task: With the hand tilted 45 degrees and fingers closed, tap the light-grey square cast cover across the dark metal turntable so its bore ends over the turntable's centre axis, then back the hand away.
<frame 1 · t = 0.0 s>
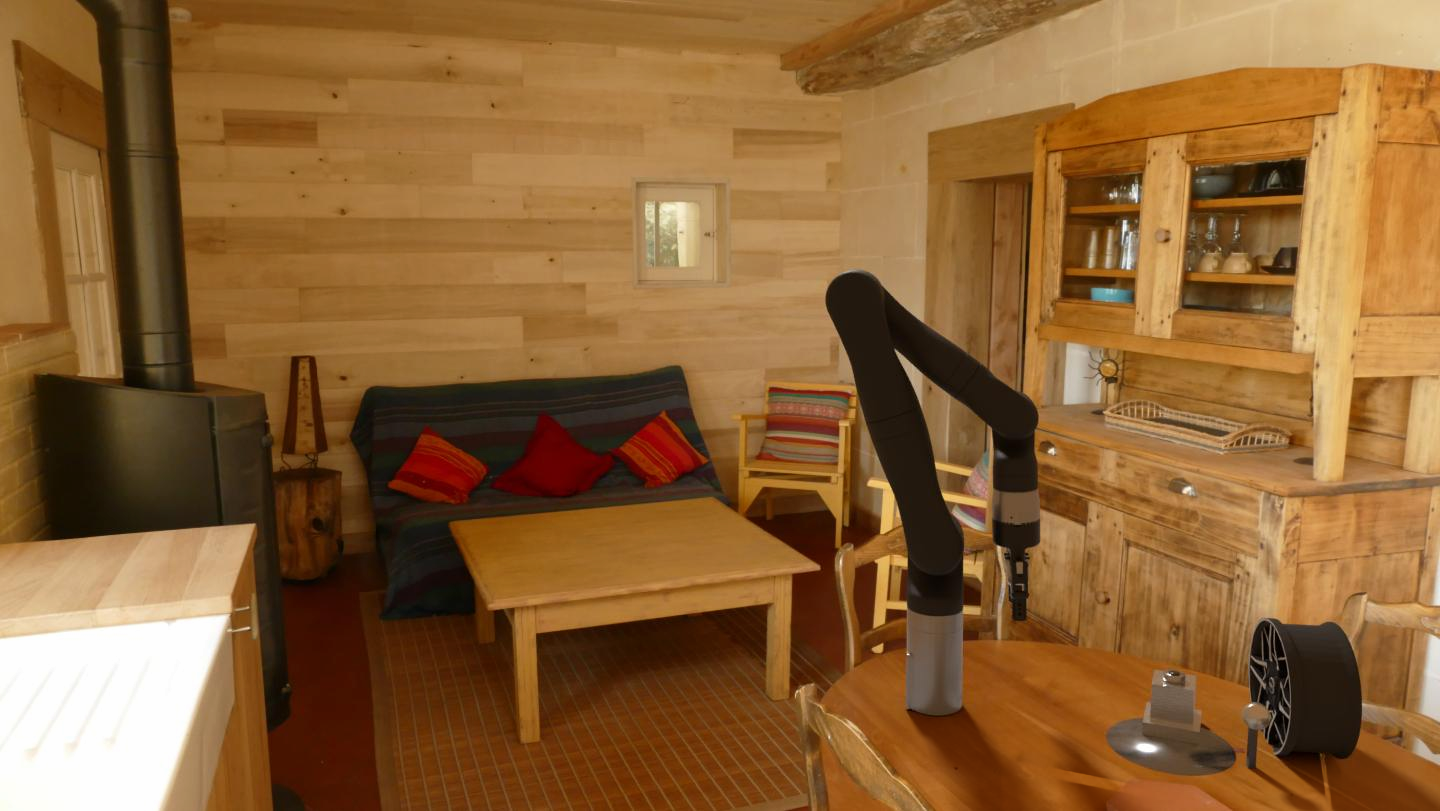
hand: (1017, 610, 167), 17 cm above the table, tool pointing down, fingers open, 8 cm apart
wheel rim: (1297, 750, 154), on the table
turntable: (1174, 746, 154), point 1 cm above the table, hinge at 0.0°, touching cover
dial indicator post: (1250, 774, 148), on the table
cover: (1171, 728, 160), point 1 cm above the table, touching turntable
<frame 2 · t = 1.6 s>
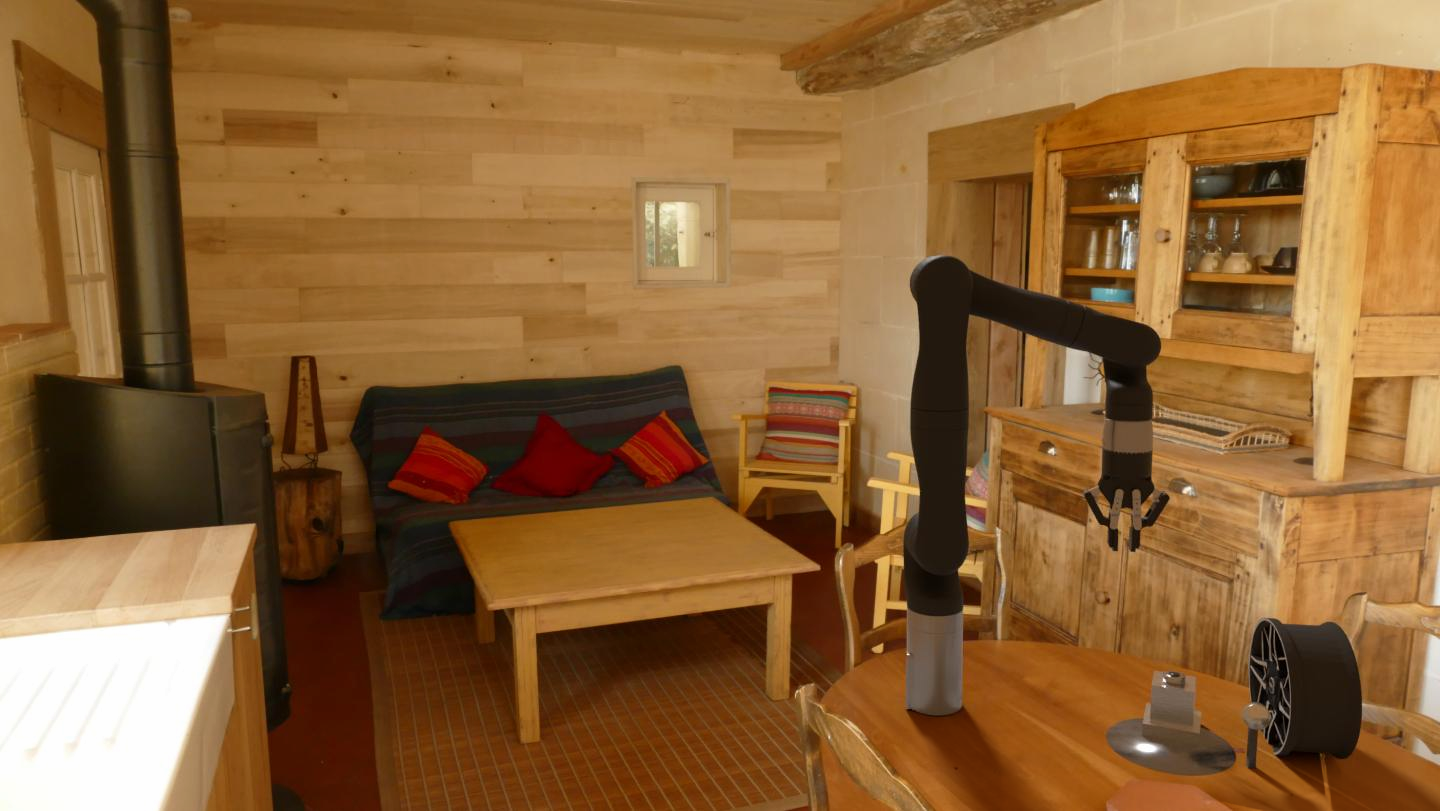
hand: (1123, 549, 166), 27 cm above the table, tool pointing down, fingers closed
nothing on the table moved.
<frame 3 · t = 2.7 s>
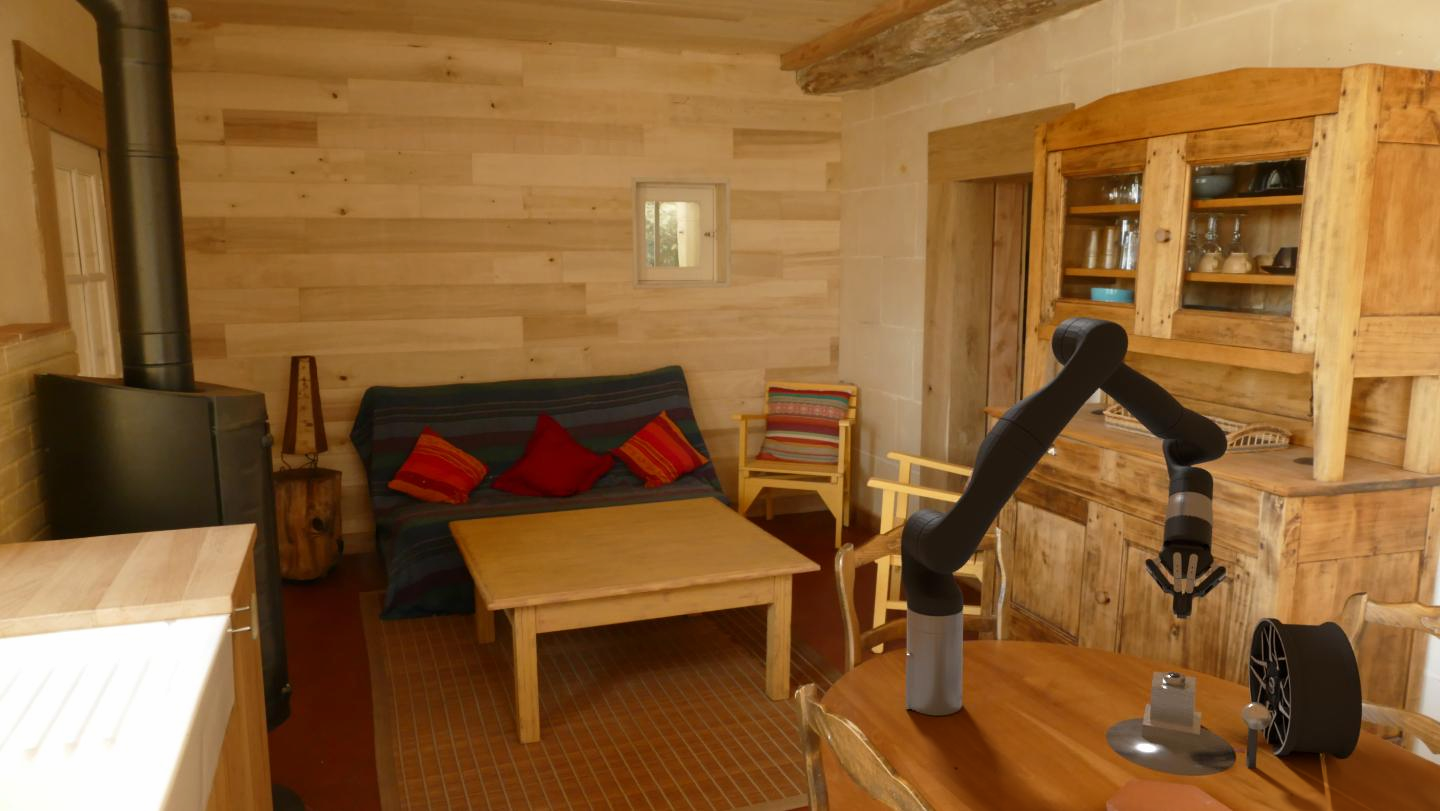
hand: (1181, 616, 167), 16 cm above the table, tool tilted 45°, fingers closed
nothing on the table moved.
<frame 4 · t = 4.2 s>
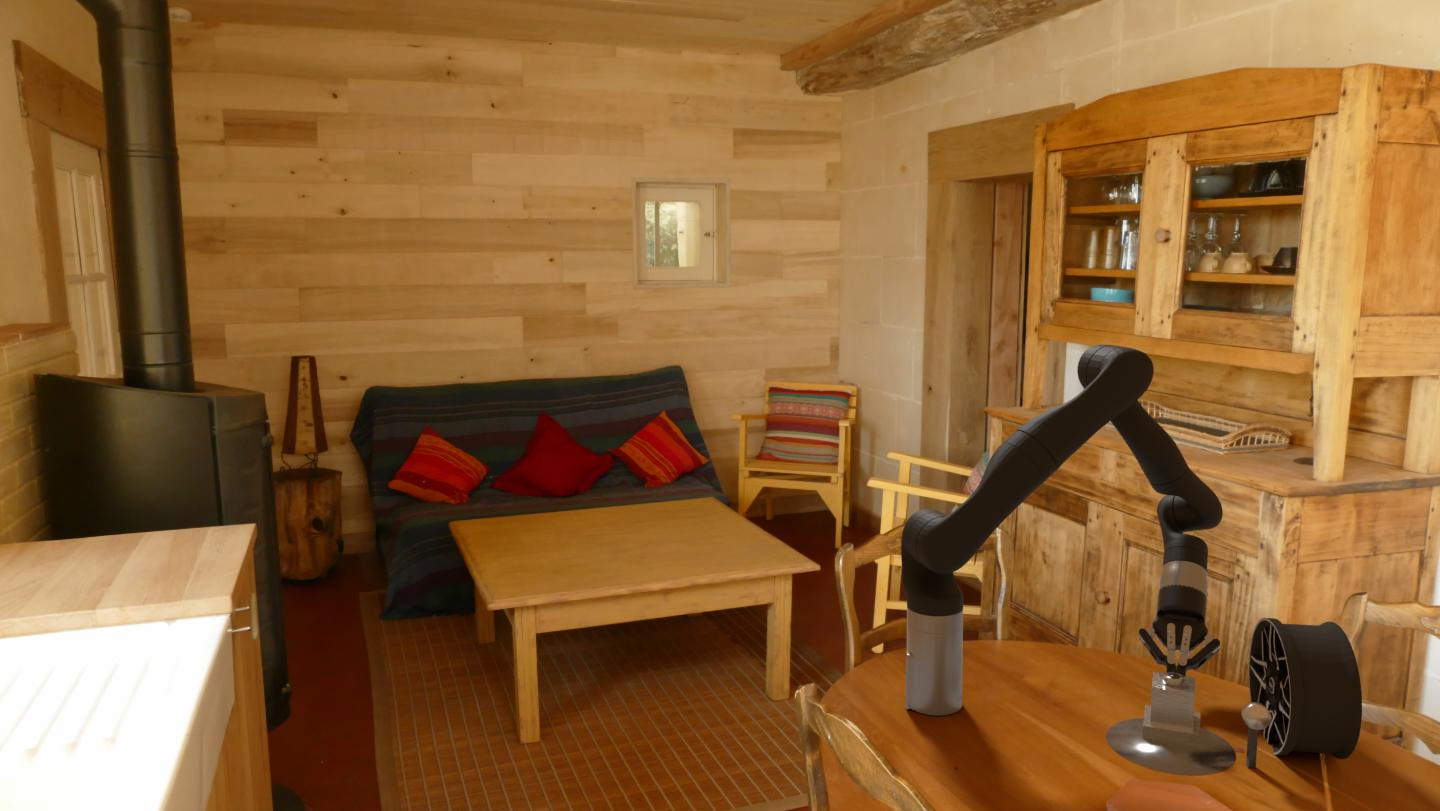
hand: (1175, 689, 165), 5 cm above the table, tool tilted 45°, fingers closed
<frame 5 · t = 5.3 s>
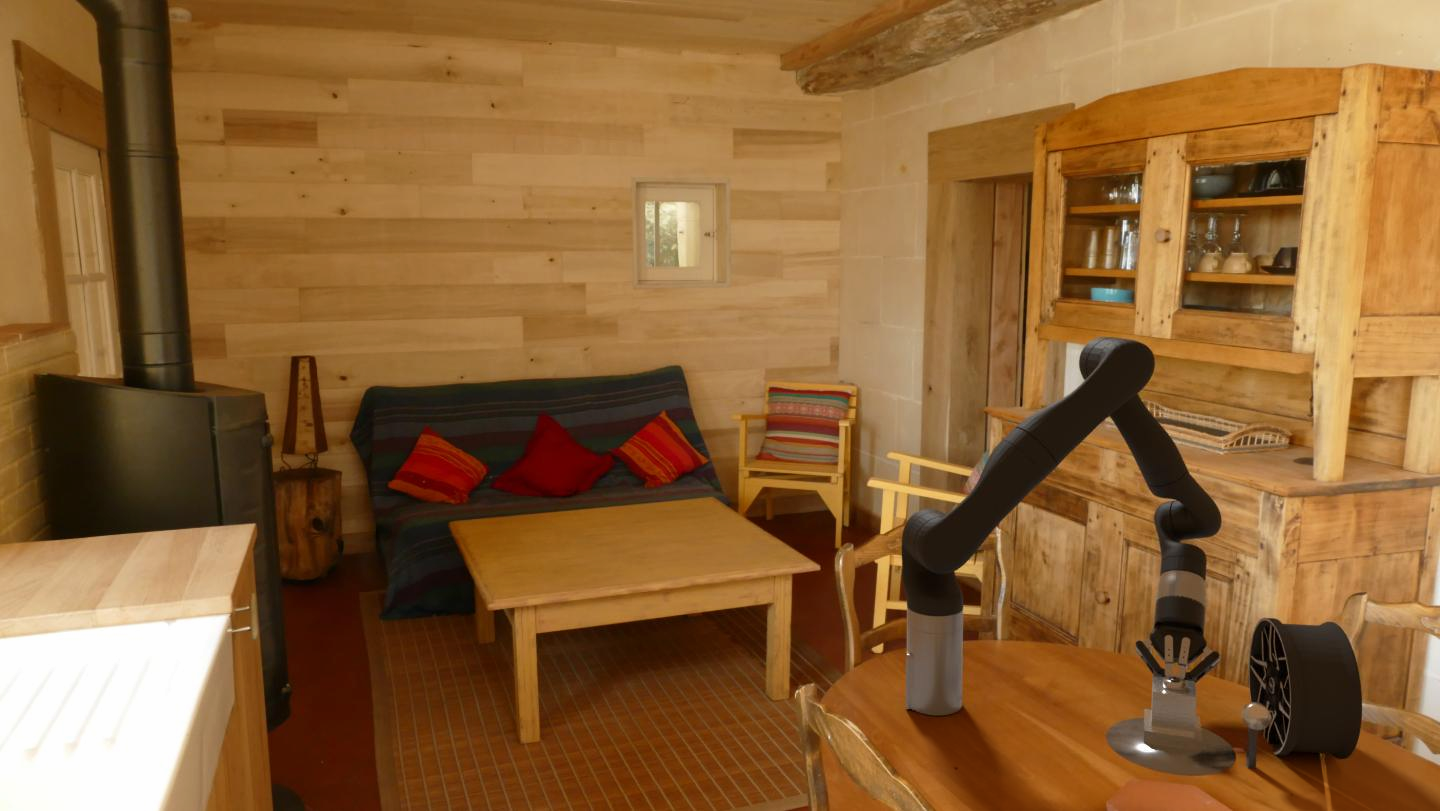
hand: (1173, 704, 160), 5 cm above the table, tool tilted 45°, fingers closed
cover: (1171, 735, 157), point 1 cm above the table, touching turntable
everything else where it was.
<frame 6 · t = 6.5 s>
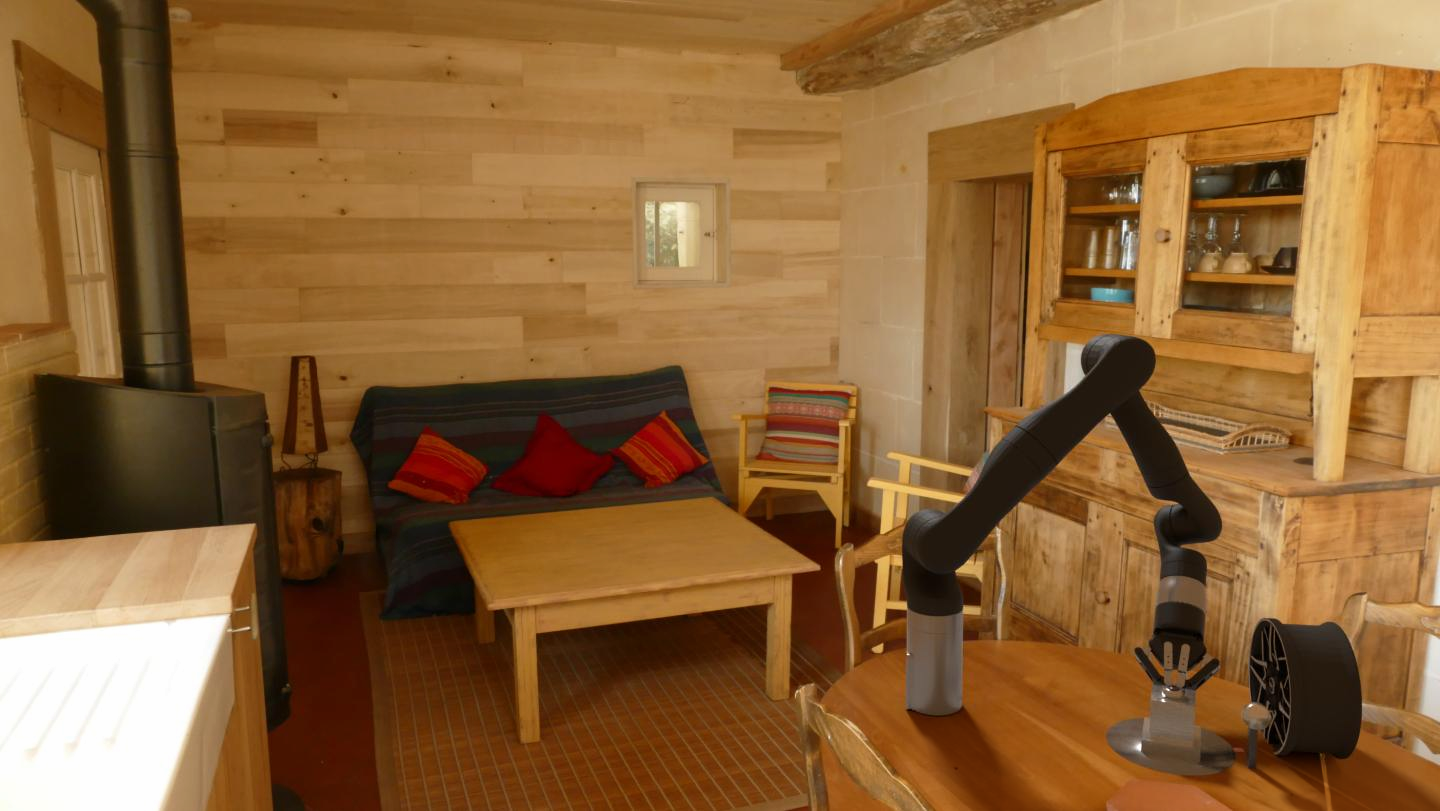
hand: (1172, 712, 157), 5 cm above the table, tool tilted 45°, fingers closed
cover: (1170, 745, 154), point 1 cm above the table, touching turntable
everything else where it was.
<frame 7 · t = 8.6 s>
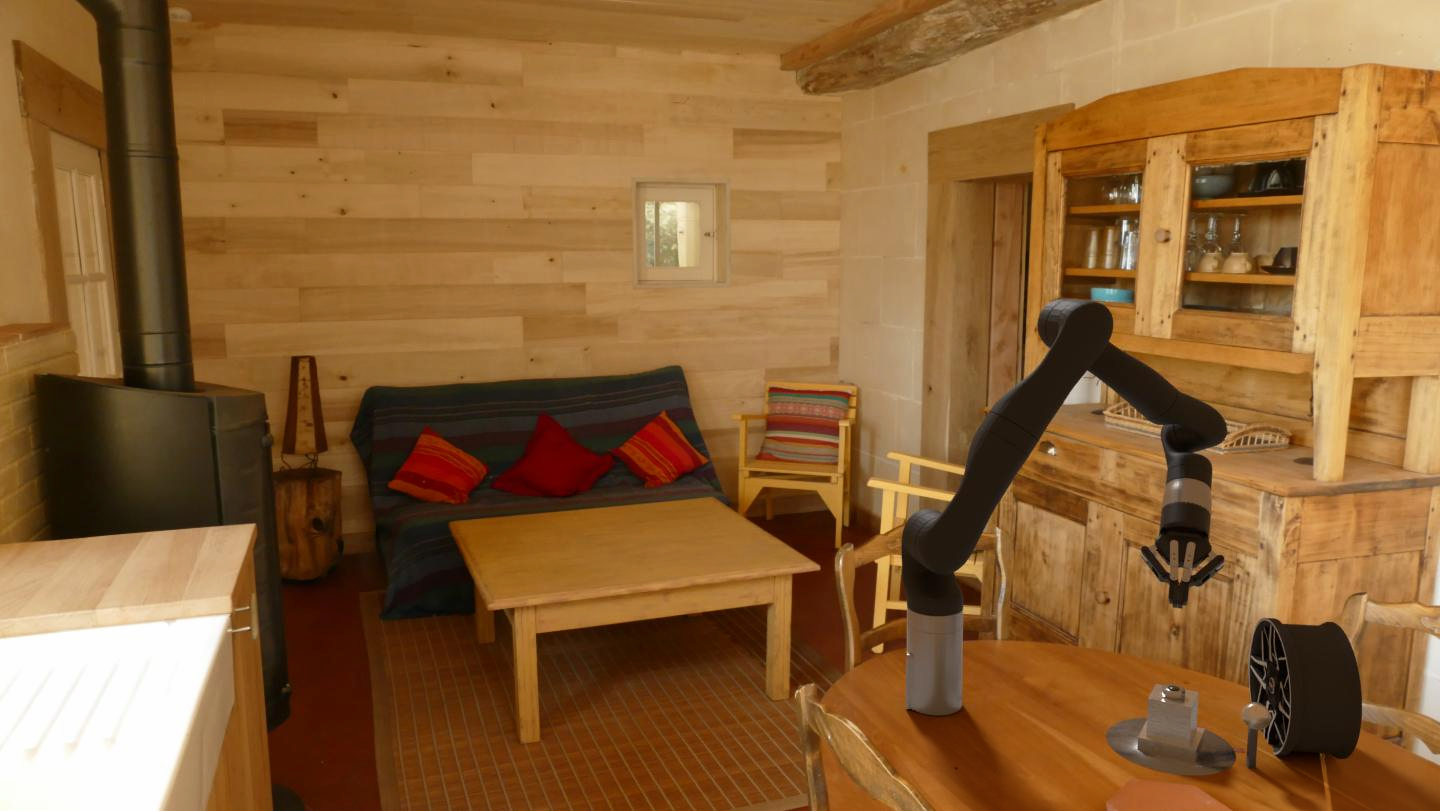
hand: (1177, 605, 161), 20 cm above the table, tool tilted 45°, fingers closed
nothing on the table moved.
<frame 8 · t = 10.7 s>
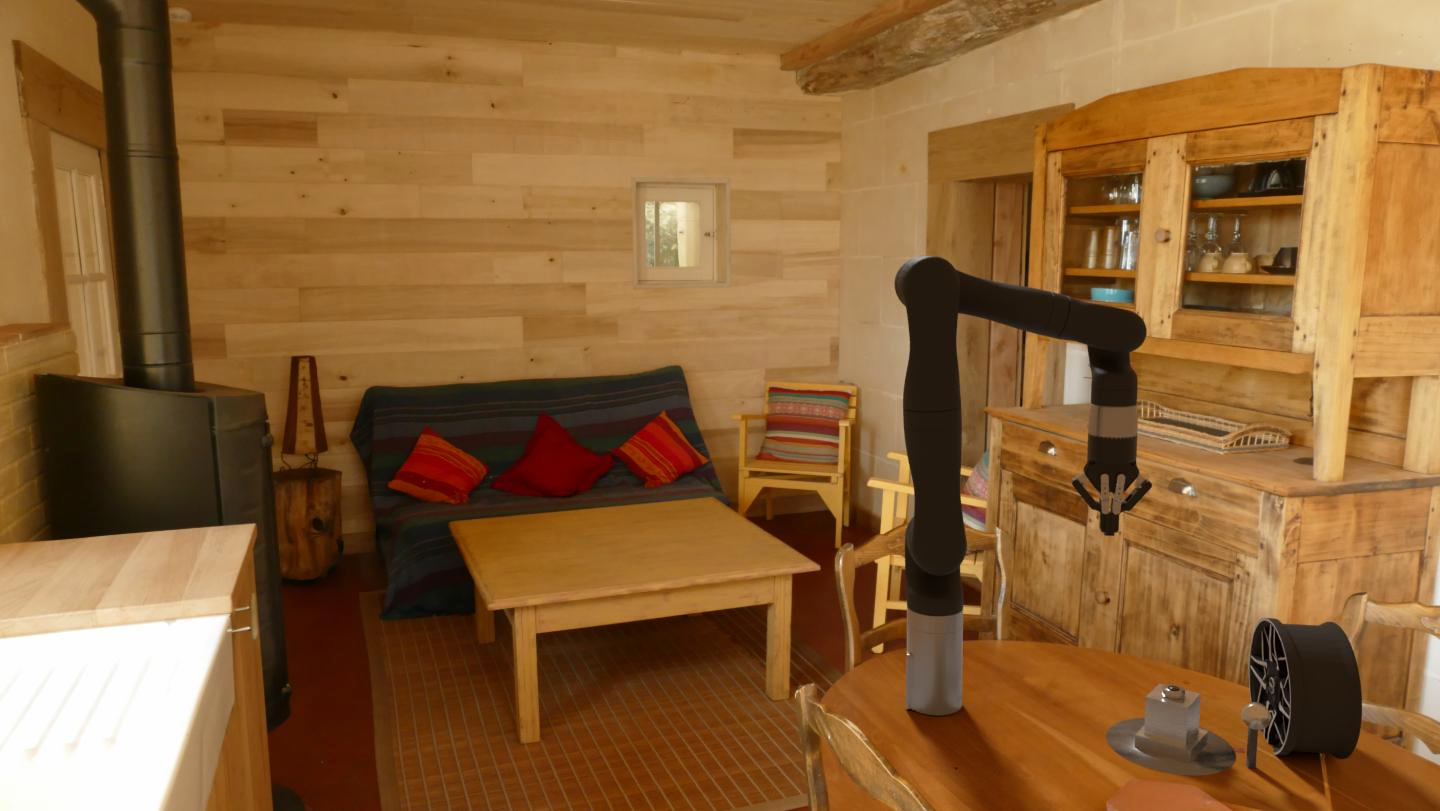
hand: (1108, 534, 168), 29 cm above the table, tool pointing down, fingers closed
nothing on the table moved.
at the end: cover 0.2 cm from the turntable (horizontally); cover tilted 0°; cover point 1.2 cm above the table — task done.
